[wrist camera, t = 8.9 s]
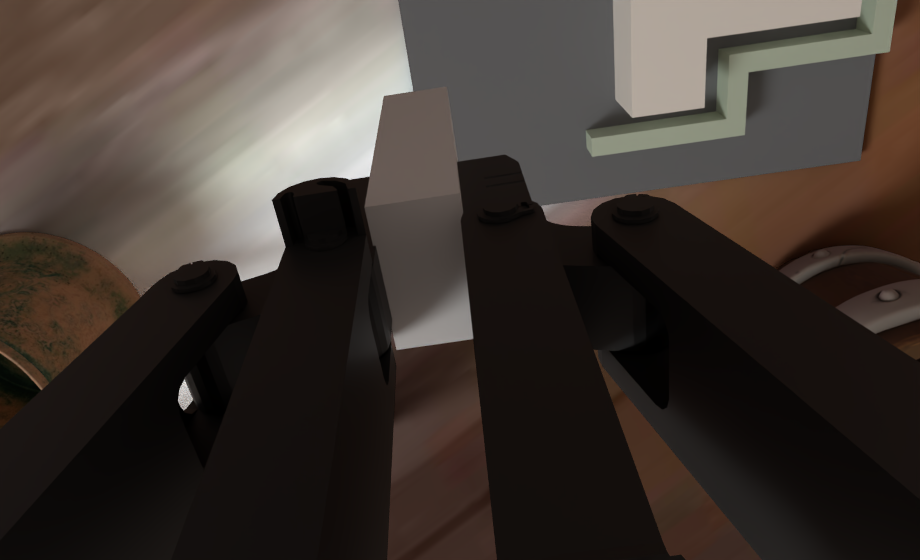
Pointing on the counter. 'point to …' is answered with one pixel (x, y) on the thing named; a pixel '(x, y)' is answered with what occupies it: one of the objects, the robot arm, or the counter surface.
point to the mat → (594, 106)
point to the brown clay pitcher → (51, 310)
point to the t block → (693, 43)
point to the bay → (733, 83)
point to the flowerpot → (866, 289)
